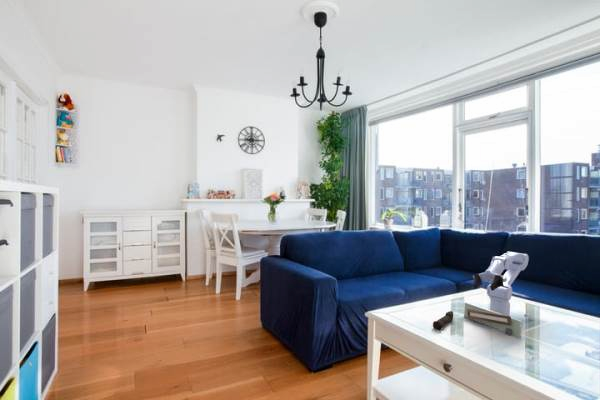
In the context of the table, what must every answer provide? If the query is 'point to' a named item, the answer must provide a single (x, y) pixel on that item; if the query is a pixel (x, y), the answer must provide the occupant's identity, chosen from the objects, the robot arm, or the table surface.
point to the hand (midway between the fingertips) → (482, 287)
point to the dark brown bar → (443, 321)
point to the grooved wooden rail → (489, 317)
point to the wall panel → (508, 330)
